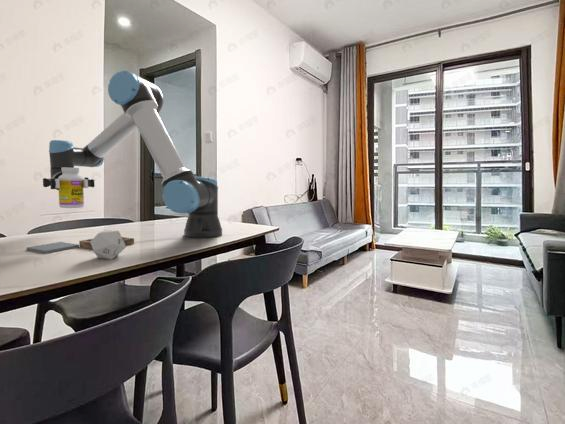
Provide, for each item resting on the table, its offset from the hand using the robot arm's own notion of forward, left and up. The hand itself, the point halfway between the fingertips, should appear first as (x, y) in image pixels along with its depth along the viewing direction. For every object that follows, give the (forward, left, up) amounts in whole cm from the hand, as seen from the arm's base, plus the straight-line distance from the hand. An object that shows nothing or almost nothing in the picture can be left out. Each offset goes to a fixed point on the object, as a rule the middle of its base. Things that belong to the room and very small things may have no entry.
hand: (72, 183), depth 96 cm
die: (-18, +2, -21) cm, 28 cm away
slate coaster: (+8, +2, -21) cm, 22 cm away
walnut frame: (-3, -9, -21) cm, 23 cm away
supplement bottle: (+5, -2, -8) cm, 9 cm away
